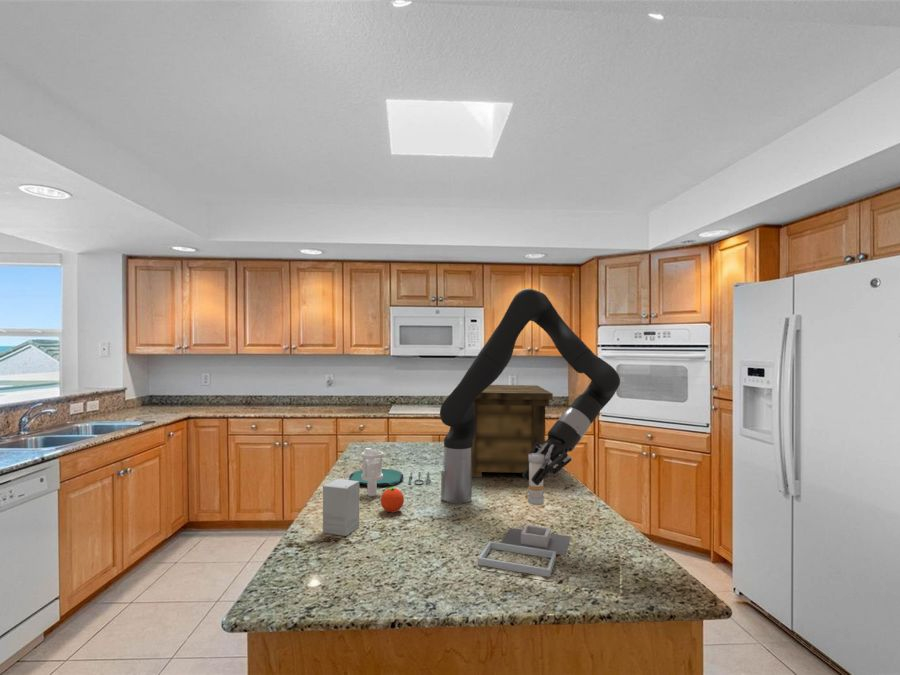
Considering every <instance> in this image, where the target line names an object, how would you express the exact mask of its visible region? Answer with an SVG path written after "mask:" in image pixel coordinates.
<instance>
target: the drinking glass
mask: <svg viewBox="0 0 900 675" xmlns="http://www.w3.org/2000/svg"><path fill="white" fill-rule="evenodd" d="M383 457H384V452H383V451H380V450H373V448H369V447H366V448H364V451H363V452H361V458H362V470H363V474H362V480H365V481H368V485H366V487H367V496H368V497H374V496H377V495H378V494H377V493H378V492H377V488H378V485H377V480H381V479H383V474H382V469H383ZM373 459H374V460H373Z"/></svg>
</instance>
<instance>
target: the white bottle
mask: <svg viewBox="0 0 900 675" xmlns="http://www.w3.org/2000/svg"><path fill="white" fill-rule="evenodd" d="M528 461H529V481H528V496H527V503H528V504H530V505H533V506H542V505H544V504H545V496H544V490H545V489H544V479H543V480H542V482H541V483H539V485H536V484H534V483H533V481H532V477H533V476H534V475H535V474H536V472H537V471H538V470H539V469H540V468H541V466H542V465H543V463H544V455H543V454H539V453H531V454H528ZM541 469H542V468H541Z"/></svg>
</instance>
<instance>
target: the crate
mask: <svg viewBox="0 0 900 675" xmlns="http://www.w3.org/2000/svg"><path fill="white" fill-rule="evenodd" d="M553 395H554V394H553V392H551V391H548V390H547V389H544V388H542V387H541V386H539V385H535V384H534V385H533V384H532V385H531V384H530V385H522V384H520V385H519V384H517V385H516V384H515V385H514V384H510V385H509V384H491V385H489V386H488V387H487V388H486V389H485V390H484V391H482V392H481V393H480V394H479V395H478V396H477V397H476V399H475V400H474V401H473V403H474V406H475V411H476V420H475V435H474V439H473V441H472V478H482V477H483V473H522V474H523V473H524V471H525V470H526V469H527V467H528V466H529V461H528V460H527V458H528V454H530V452H531V450H532V448H533V445H534V443H536V442H537V443H538V444H543V443H544V442H545V441H546V437H545V436H546V407H547V406H548V407H549V405H550V401H553V400H554V398H553V397H554V396H553Z"/></svg>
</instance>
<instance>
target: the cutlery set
mask: <svg viewBox="0 0 900 675" xmlns="http://www.w3.org/2000/svg"><path fill="white" fill-rule="evenodd" d="M417 472H418V473H417V474H418V479H415V480H414V484H415V485H418V486H420V485H422V484H424V480H422V479H421V475H422V474H421V471H417ZM362 474H363V469H359V470H355V471H353V472H352V473H350V475H349V476H348V478H349V479H348V480H352V481H359V485H363V486H367V485H368V481H365V480H362ZM382 474H383V479H381V480H377V486H387V485H390V486H394V485H398V484H399V483H400V482H401V481H403V479H404V474H402V471H399V470H396V469H391V468H390V469H386V468H385V469H384V468H382ZM412 480H413V472H410V475H409V478H408V485H409V486H411V484H412ZM418 482H421V483H418ZM431 483H432V479H431V478H430V472H429V471H427V476H426V479H425V485H426V486H431Z"/></svg>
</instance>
